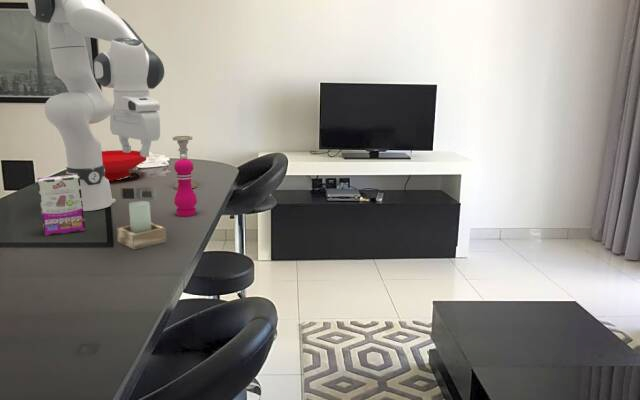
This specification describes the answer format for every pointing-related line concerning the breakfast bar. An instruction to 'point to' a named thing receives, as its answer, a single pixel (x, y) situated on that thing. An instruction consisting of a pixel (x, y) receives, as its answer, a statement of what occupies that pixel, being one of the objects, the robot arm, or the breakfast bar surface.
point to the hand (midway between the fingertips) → (135, 154)
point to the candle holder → (183, 151)
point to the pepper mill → (184, 188)
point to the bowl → (120, 163)
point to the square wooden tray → (141, 236)
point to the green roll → (140, 216)
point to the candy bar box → (61, 204)
